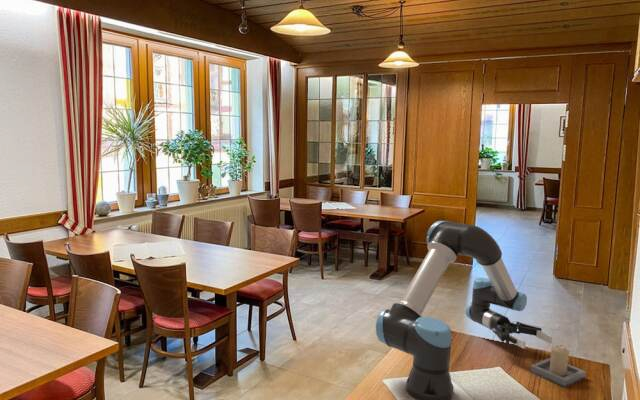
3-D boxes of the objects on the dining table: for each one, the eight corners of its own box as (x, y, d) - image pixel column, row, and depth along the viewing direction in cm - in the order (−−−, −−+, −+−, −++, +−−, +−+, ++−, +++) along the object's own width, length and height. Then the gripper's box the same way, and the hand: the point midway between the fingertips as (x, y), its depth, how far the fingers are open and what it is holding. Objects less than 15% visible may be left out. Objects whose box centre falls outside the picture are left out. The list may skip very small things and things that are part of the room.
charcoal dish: (565, 387, 164) (565, 380, 164) (530, 371, 175) (530, 365, 174) (585, 378, 171) (585, 371, 171) (550, 363, 182) (550, 357, 182)
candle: (557, 368, 176) (560, 342, 175) (570, 375, 171) (572, 348, 170) (545, 370, 174) (548, 343, 173) (558, 377, 169) (560, 350, 168)
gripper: (518, 327, 205) (561, 347, 186) (472, 335, 195) (512, 357, 176) (519, 310, 204) (562, 328, 185) (473, 317, 194) (513, 337, 175)
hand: (538, 342), depth 180 cm, fingers open, 13 cm apart
